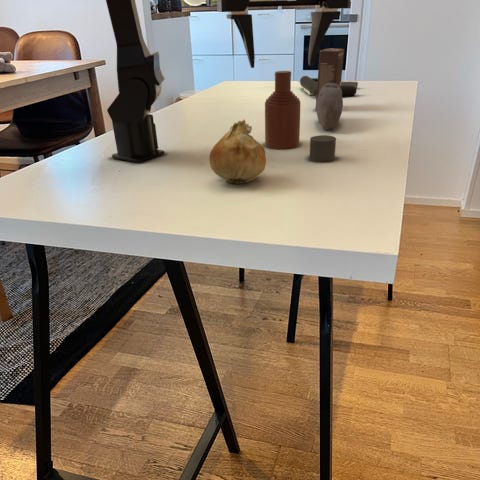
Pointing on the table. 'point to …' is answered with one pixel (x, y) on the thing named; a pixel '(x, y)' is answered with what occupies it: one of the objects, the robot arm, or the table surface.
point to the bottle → (282, 114)
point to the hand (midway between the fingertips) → (281, 66)
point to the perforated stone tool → (329, 105)
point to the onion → (238, 155)
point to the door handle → (311, 86)
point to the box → (329, 68)
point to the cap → (322, 148)
